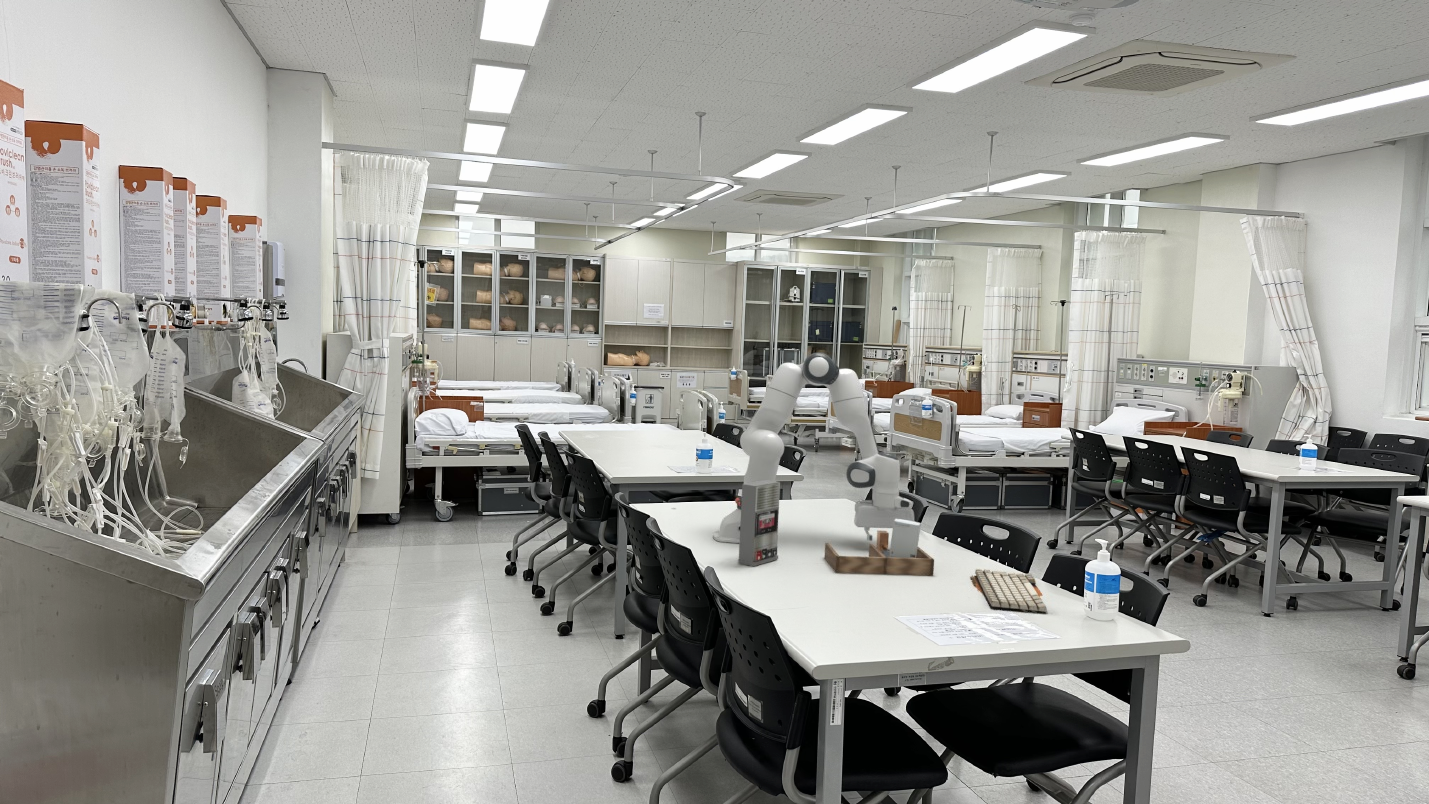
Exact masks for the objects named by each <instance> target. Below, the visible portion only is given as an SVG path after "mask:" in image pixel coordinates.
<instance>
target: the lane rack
mask: <svg viewBox="0 0 1429 804" xmlns="http://www.w3.org/2000/svg"><path fill="white" fill-rule="evenodd" d="M880 551H881V550H878V549H877V548H876V545H874V544H873V543H869V547H868V556H859V555H858V556H857V555H856V556H855V555H839V554H838V553H837V552H836V550H835V549H834V548H833V546H831V544H830V543H829V542H825V543H824V556H823V557H824V560H825V561H827V563H828V565H829V566H830V567H831V568H832V570H833V571H834V572H835V574H836V573H837V574H865V575H869V574H870V575H896V576H897V575H899V576H900V575H901V576H903V575H905V576H934V572H935V571H934V570H935V559H934V558H933V557H932V556H930V554H928V553H927V552H926V551H924V550H923V549H921V547H919V546H918V549H917V556H916V558H893V557H886V556H885V555H883V554H882V553H881V552H880Z"/></svg>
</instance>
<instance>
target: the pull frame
mask: <svg viewBox="0 0 1429 804" xmlns="http://www.w3.org/2000/svg"><path fill="white" fill-rule="evenodd" d="M889 536H890V532H888V531H887V530H877V531H876V545H875V547H876V548H877V549H878V550H879V551H880V552H881V553H882V554H883V555H885V556H886V557H889V552H890V549H889V538H890V537H889Z"/></svg>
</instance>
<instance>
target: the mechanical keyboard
mask: <svg viewBox="0 0 1429 804" xmlns="http://www.w3.org/2000/svg"><path fill="white" fill-rule="evenodd" d="M974 574H975V575H974V576H973V575H972V574H971V576H969V579H970V581H971V584H972V585H973V587H974V588H976V590H977V591H978V592H979V593H981V594H982V596H983V597H984V599H985V601H986V602H987V603H986V604H987V605H988V607H989V609H990V610H991V611H992V610H994V611H1004V612H1013V613H1015V612H1016V613H1026V614H1027V613H1033V614H1046V613H1048V609H1047V606H1046V604H1045V603H1044V601H1043V599H1042V596H1043V593H1042V592H1041V590H1040V589H1039V588H1038V586H1037V585H1036V584H1037V582H1036V578H1035V577H1034V575H1032V573H1031V572H1029V573H1025V574H1024V573H1023V572H1018V573H1015V572H1008V573H1007V571H998V570H992V571H991V570H990V569H985V568H984V569H983V570H982V569H981V568H976V569H975V573H974Z"/></svg>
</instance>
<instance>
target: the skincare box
mask: <svg viewBox="0 0 1429 804" xmlns="http://www.w3.org/2000/svg"><path fill="white" fill-rule="evenodd" d="M921 525H922V523H921V522H918V521H914V522H913V521H908V520H902V519H895V520H894V524H893V528H892V532H891V539H890V545H889V546H890V547H889V551H890V552H889V557H893V558H916V556H917V549H918V547H919V540H920V533H921Z"/></svg>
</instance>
